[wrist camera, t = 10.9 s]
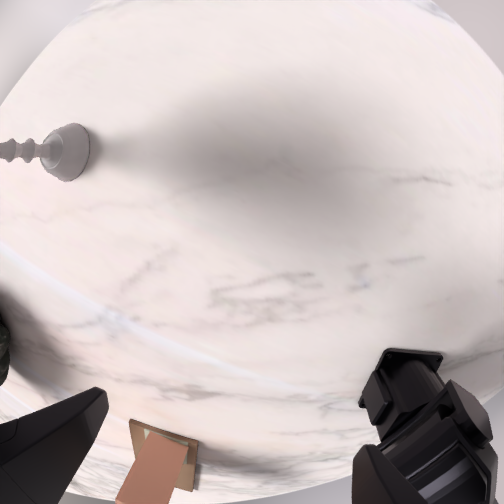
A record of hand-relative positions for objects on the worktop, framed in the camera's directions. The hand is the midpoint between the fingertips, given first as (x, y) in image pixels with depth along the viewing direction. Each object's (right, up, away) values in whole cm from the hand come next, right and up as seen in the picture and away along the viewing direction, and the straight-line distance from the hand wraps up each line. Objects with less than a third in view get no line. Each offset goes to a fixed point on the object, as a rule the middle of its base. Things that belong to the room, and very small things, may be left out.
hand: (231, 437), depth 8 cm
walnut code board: (-10, -20, +20) cm, 30 cm away
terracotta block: (-9, -16, +18) cm, 26 cm away
